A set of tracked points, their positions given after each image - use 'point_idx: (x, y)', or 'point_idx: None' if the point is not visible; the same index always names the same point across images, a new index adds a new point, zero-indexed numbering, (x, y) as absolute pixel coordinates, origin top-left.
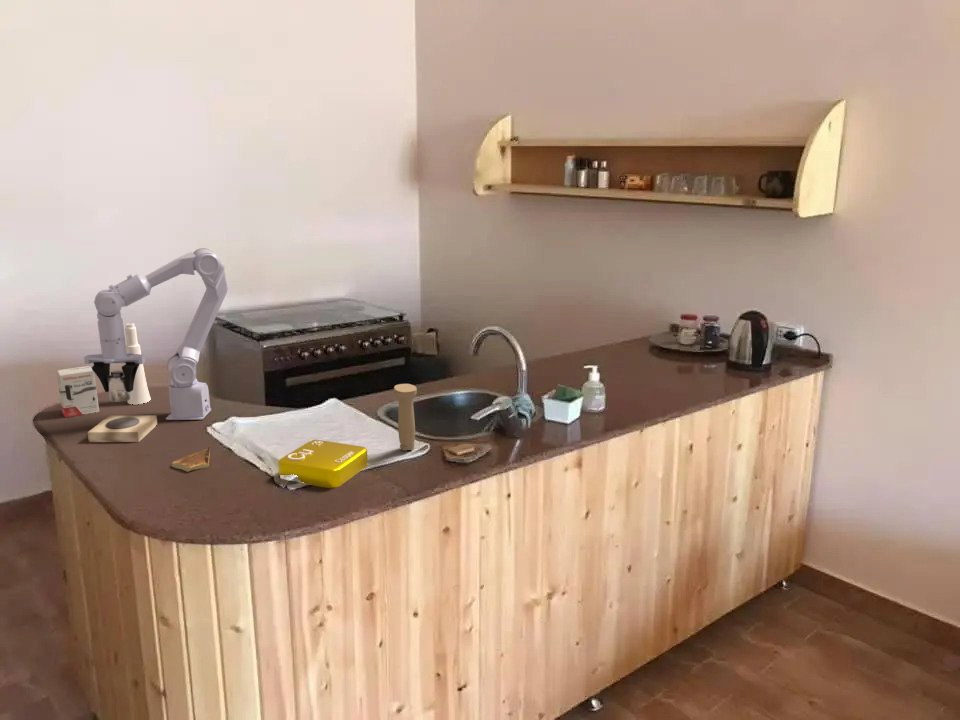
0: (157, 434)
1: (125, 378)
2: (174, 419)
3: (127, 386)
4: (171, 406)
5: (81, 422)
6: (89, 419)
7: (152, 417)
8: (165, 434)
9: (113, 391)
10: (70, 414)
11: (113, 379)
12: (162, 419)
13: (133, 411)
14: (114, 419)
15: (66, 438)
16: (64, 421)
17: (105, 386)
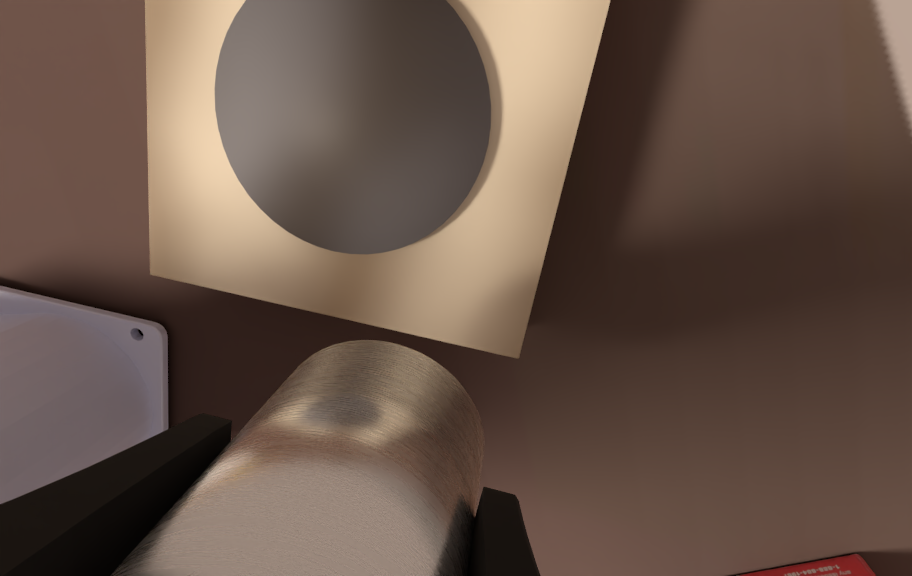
0: (125, 34)
1: (36, 541)
2: (109, 312)
3: (154, 448)
4: (73, 395)
5: (734, 433)
6: (684, 477)
7: (160, 229)
8: (68, 21)
9: (376, 418)
10: (829, 572)
11: (269, 565)
12: (201, 353)
13: None
14: (442, 221)
15: (825, 84)
16: (860, 484)
17: (491, 538)
